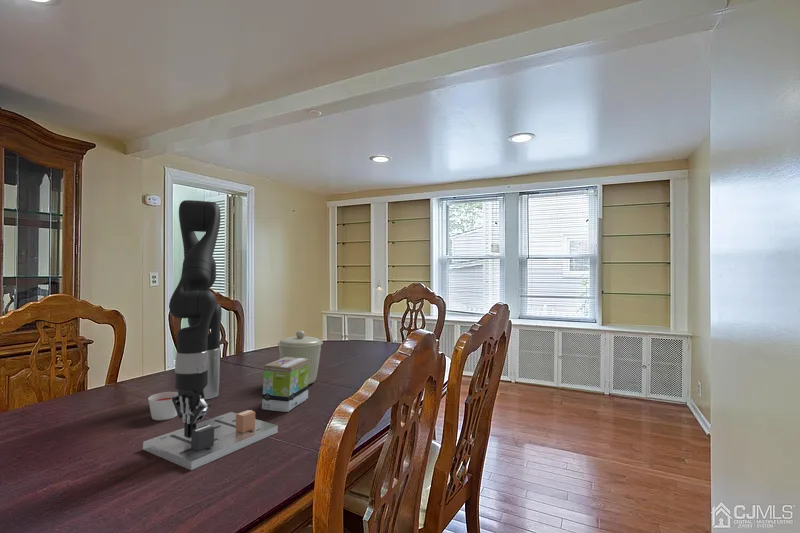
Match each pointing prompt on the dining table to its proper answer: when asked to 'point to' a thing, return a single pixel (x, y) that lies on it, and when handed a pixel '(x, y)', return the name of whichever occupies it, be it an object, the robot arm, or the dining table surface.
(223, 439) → the mixing board
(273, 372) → the tea box
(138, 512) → the dining table surface
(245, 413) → the fader terracotta
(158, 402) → the candle
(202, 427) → the fader black
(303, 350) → the canister
